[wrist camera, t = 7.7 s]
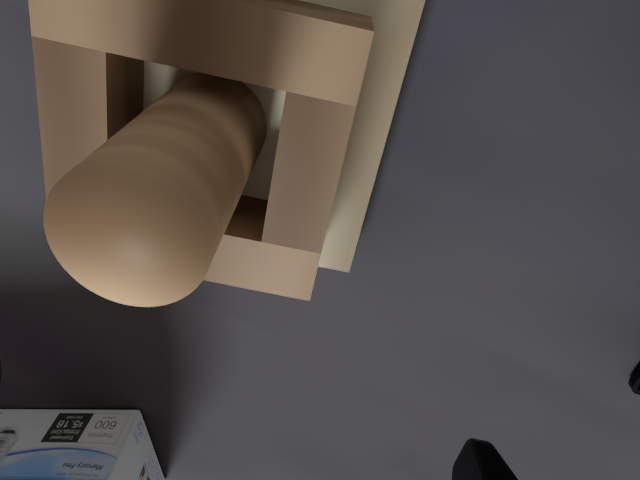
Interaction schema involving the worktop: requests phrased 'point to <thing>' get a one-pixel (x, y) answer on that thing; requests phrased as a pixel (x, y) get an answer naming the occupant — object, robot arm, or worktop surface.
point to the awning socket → (272, 92)
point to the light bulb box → (76, 445)
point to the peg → (158, 194)
